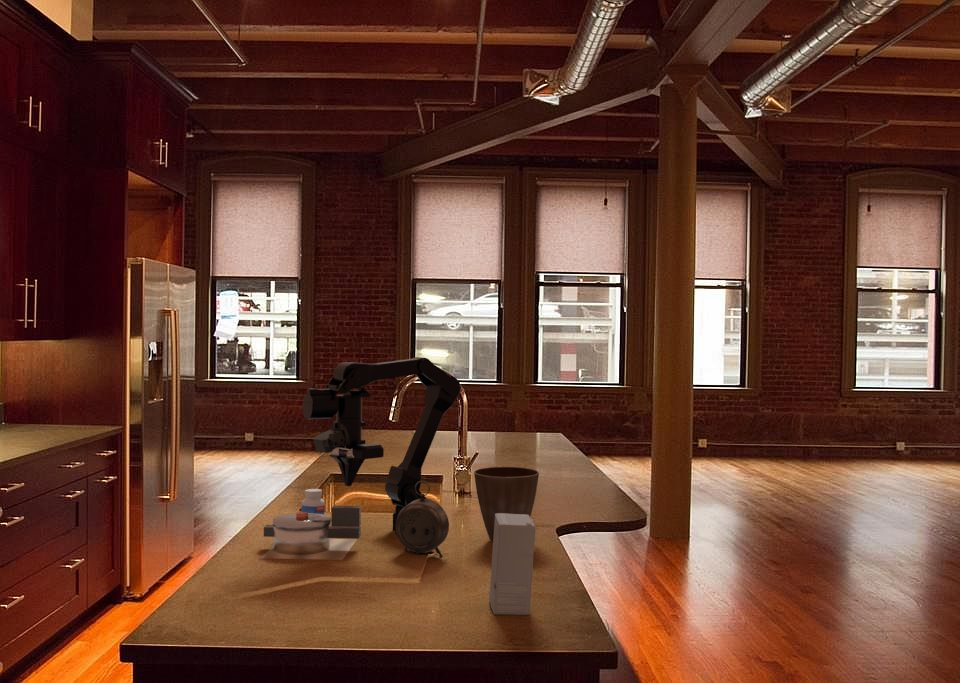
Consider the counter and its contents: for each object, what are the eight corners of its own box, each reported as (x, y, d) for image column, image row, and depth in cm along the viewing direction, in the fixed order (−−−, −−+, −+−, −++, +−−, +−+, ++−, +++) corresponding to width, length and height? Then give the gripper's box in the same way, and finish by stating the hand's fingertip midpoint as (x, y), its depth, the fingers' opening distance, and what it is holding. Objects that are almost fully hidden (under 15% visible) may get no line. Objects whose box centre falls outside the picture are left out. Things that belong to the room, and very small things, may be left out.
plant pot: (508, 552, 194) (509, 479, 194) (459, 540, 204) (460, 471, 204) (551, 541, 205) (552, 471, 205) (502, 530, 215) (503, 464, 215)
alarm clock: (449, 555, 190) (450, 480, 190) (441, 562, 185) (442, 484, 185) (401, 551, 193) (402, 477, 193) (392, 557, 188) (393, 481, 188)
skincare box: (488, 601, 158) (489, 512, 158) (528, 600, 159) (529, 512, 159) (493, 616, 150) (494, 522, 150) (535, 615, 150) (536, 522, 150)
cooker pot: (257, 554, 186) (257, 530, 186) (272, 540, 198) (272, 518, 198) (354, 556, 185) (355, 532, 185) (363, 542, 197) (364, 520, 197)
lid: (266, 531, 185) (266, 511, 185) (279, 518, 198) (279, 500, 198) (356, 532, 186) (356, 512, 186) (363, 519, 198) (363, 501, 198)
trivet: (357, 542, 200) (357, 539, 200) (342, 563, 182) (342, 559, 182) (282, 541, 201) (282, 537, 201) (260, 561, 183) (260, 557, 183)
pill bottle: (318, 534, 208) (319, 492, 208) (297, 532, 210) (297, 491, 209) (327, 529, 214) (328, 488, 214) (306, 527, 215) (307, 487, 215)
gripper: (295, 416, 203) (295, 484, 203) (345, 423, 190) (344, 495, 190) (335, 413, 211) (334, 479, 211) (385, 419, 198) (384, 489, 198)
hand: (348, 485), depth 202 cm, fingers closed
